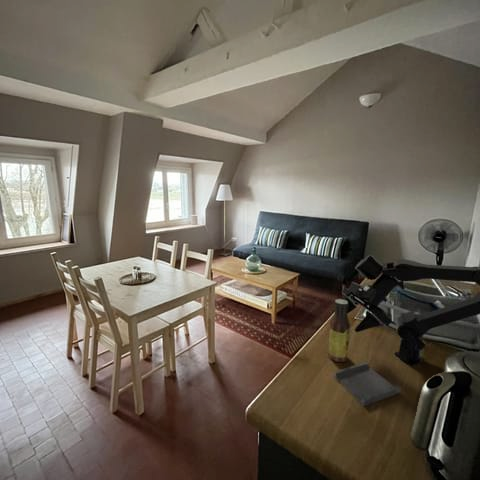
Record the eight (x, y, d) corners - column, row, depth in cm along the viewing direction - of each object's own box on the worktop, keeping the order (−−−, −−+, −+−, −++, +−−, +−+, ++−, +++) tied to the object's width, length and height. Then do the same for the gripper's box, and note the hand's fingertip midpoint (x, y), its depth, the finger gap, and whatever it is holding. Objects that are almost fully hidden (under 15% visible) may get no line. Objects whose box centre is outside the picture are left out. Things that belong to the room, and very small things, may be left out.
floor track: (367, 366, 84) (367, 361, 84) (400, 392, 73) (400, 387, 73) (333, 376, 80) (334, 371, 79) (363, 406, 69) (364, 400, 69)
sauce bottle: (349, 364, 85) (354, 307, 81) (329, 361, 86) (333, 305, 82) (345, 352, 91) (350, 298, 87) (326, 349, 93) (330, 297, 88)
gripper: (348, 266, 94) (318, 297, 94) (387, 285, 76) (349, 324, 76) (366, 285, 97) (336, 315, 97) (407, 308, 79) (371, 345, 79)
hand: (346, 323), depth 87 cm, fingers open, 9 cm apart
